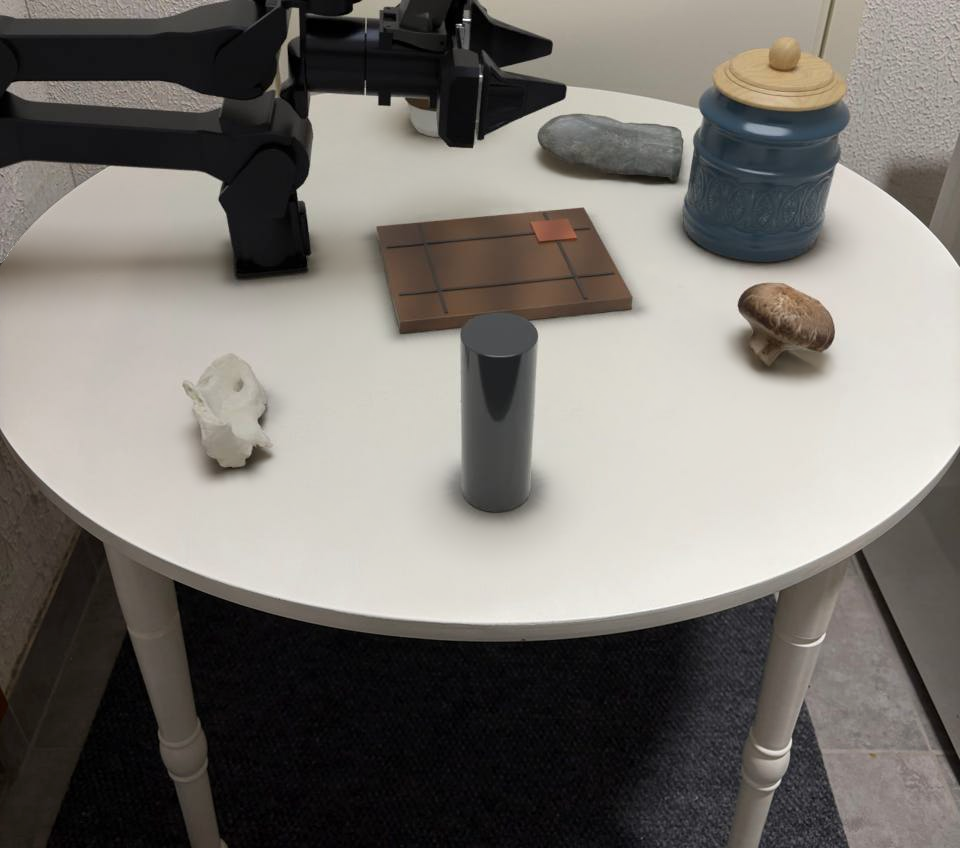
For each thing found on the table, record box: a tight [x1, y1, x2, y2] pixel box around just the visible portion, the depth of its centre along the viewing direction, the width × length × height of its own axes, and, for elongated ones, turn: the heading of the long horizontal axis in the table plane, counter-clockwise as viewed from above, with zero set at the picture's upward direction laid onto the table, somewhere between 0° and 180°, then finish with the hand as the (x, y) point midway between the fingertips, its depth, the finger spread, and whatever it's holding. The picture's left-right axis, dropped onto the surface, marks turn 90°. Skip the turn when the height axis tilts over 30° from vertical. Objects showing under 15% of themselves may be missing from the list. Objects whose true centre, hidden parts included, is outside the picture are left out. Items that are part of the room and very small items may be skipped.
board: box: [375, 207, 634, 334], centre depth 93 cm, size 20×16×1 cm
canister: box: [682, 36, 851, 263], centre depth 93 cm, size 13×13×18 cm
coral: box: [182, 352, 274, 469], centre depth 76 cm, size 6×10×4 cm, turn 18°
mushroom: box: [737, 282, 836, 367], centre depth 84 cm, size 8×8×6 cm
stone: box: [537, 113, 685, 182], centre depth 109 cm, size 11×4×15 cm
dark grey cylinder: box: [459, 313, 539, 513], centre depth 69 cm, size 5×5×13 cm
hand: (558, 68), depth 85 cm, fingers open, 9 cm apart
